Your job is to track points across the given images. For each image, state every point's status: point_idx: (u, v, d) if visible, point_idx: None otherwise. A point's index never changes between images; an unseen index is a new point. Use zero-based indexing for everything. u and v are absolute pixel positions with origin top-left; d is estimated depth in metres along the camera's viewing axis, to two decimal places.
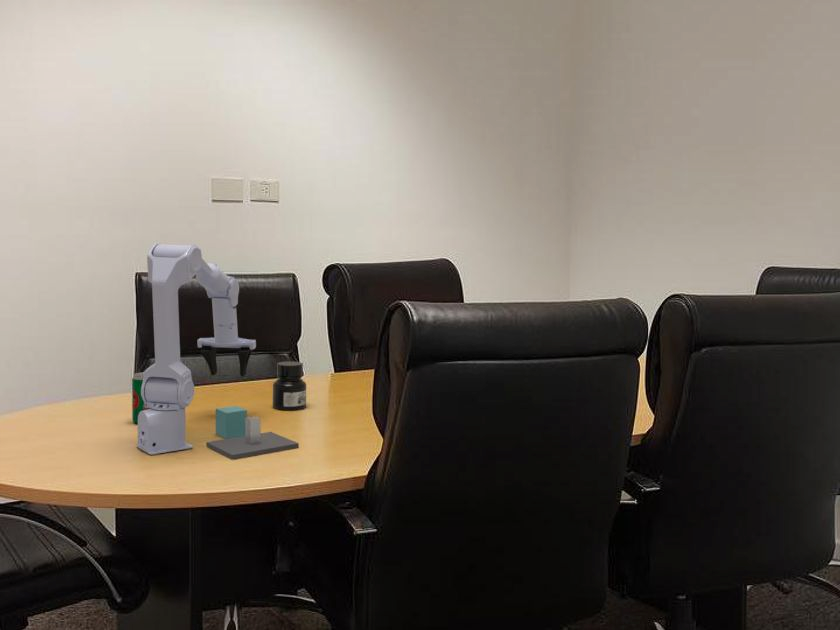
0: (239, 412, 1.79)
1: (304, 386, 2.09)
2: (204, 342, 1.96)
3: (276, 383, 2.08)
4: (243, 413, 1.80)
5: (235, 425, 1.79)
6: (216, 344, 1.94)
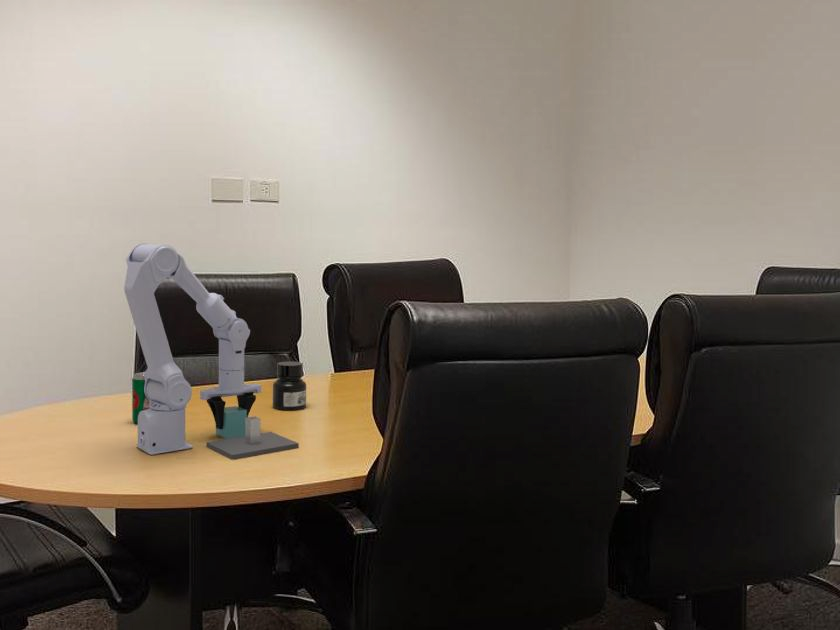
0: (239, 412, 1.79)
1: (304, 386, 2.09)
2: (212, 393, 1.76)
3: (276, 383, 2.08)
4: (243, 413, 1.80)
5: (235, 425, 1.79)
6: (230, 392, 1.77)
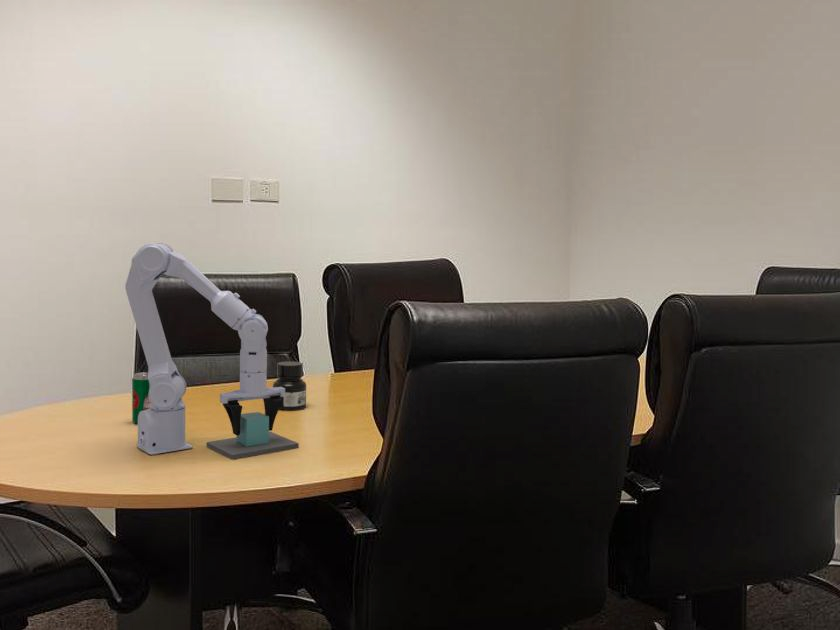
0: (260, 418, 1.69)
1: (304, 386, 2.09)
2: (232, 396, 1.66)
3: (276, 383, 2.08)
4: (265, 419, 1.70)
5: (256, 432, 1.69)
6: (251, 395, 1.67)
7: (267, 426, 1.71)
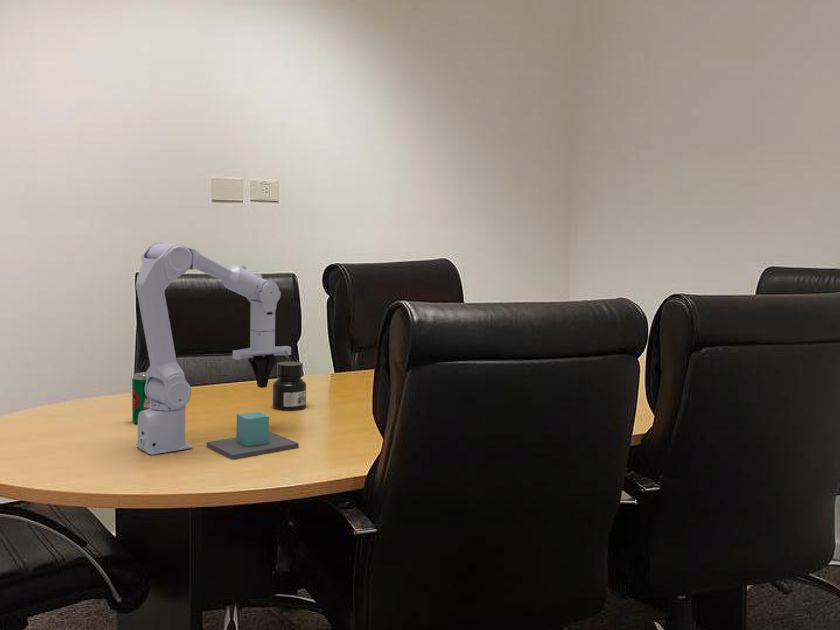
0: (260, 418, 1.69)
1: (304, 386, 2.09)
2: (245, 353, 1.80)
3: (276, 383, 2.08)
4: (265, 419, 1.70)
5: (256, 432, 1.69)
6: (262, 352, 1.82)
7: (267, 426, 1.71)
